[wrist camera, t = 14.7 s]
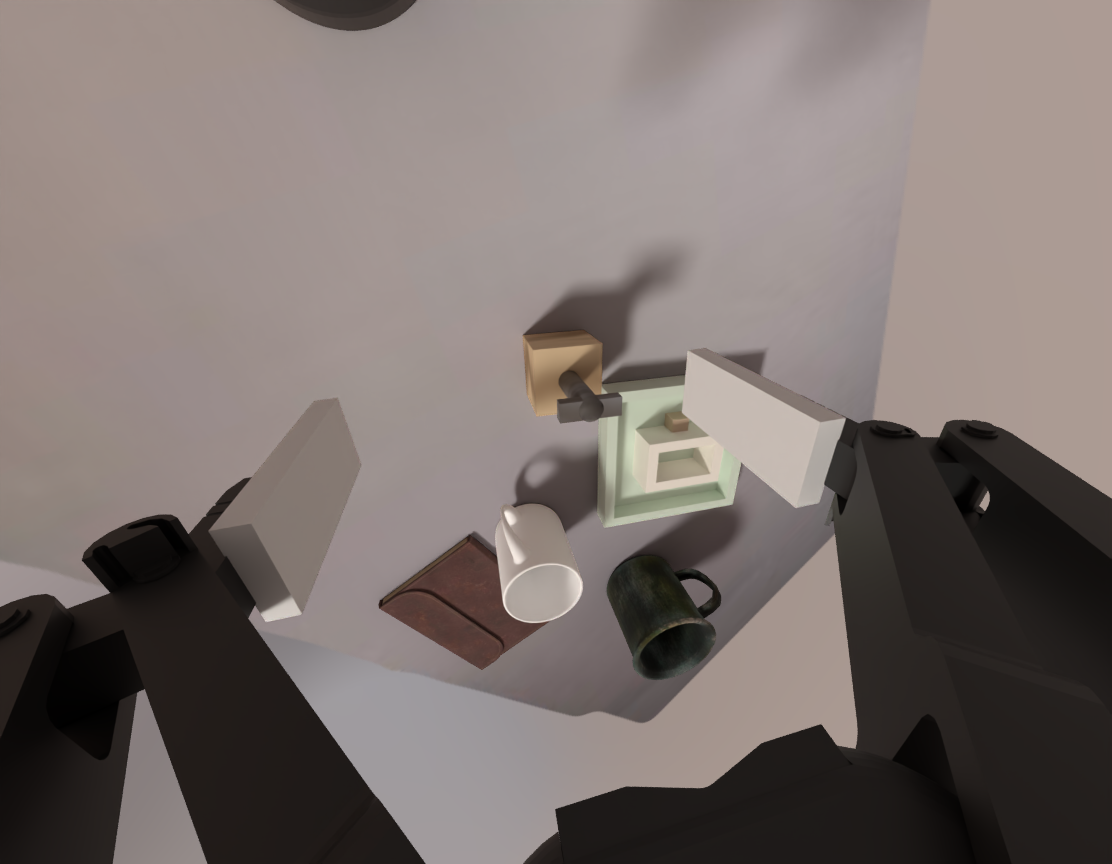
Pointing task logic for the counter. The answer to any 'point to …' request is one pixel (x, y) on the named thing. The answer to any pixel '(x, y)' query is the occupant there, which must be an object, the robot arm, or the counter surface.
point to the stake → (567, 377)
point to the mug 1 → (535, 564)
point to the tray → (616, 440)
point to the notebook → (460, 605)
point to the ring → (672, 438)
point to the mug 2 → (661, 616)
